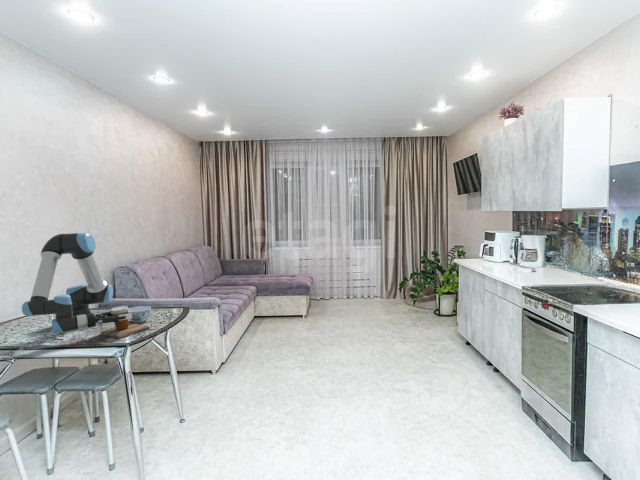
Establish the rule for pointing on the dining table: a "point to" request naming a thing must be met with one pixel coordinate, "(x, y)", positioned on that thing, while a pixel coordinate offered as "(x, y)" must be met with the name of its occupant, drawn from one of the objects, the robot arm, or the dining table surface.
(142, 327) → the walnut board
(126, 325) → the disposable coffee cup
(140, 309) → the chinaware
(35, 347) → the dining table surface
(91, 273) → the robot arm
